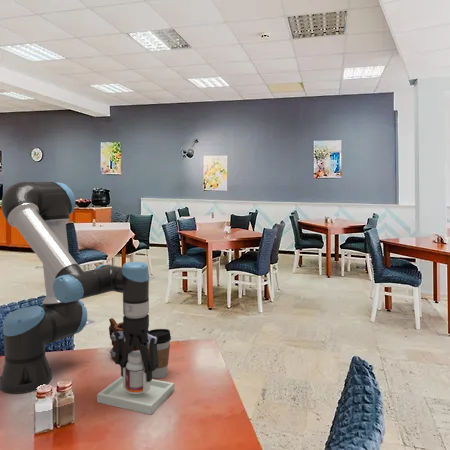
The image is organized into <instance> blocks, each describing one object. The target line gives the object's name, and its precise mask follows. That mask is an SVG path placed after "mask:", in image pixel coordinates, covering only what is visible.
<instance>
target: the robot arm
mask: <svg viewBox="0 0 450 450" xmlns="http://www.w3.org/2000/svg"><path fill="white" fill-rule="evenodd" d="M0 203H1V205H0V206H1V212H2V215H3V216H4V218H5V220H6V222H7V223H8V224H9V225H10V226H11V227H13V228H16V229H17V231H18V232H19V233H20V235H21V236H22V237H23V239H24V240H25V242H27V244H28V245H29V247H30V248H31V250H32V251H33V252H34V253H35V255H36V256H37V258H38V259H39V260H40V261H41V263H42V268H43V269H42V270H43V277H44V287H45V298H44V299H43V300H42V301H41V304H42V306H39V305H38V306H37V305H32V306H31V305H30V306H25V307H21V308H18V309H15V310H12V312H10V313H8V314H7V315H6V316H5V318H4V319H3V328H2V329H3V330H2V334H3V343H4V345H3V349H4V364H3V368H2V373H1V375H0V390H1V391H2V392H3V393H5V394H6V393H8V394H24V393H28V392H29V393H30V392H33V391H36V390H37V389H36V388H37V387H38V386H40V385H43V384H48V385H49V383H50V382H51V381H52V379H53V374H52V373H53V371H52V369H51V367H50V364H49V360H48V359H47V356H46V345H48V344H49V345H50V344H51V343H54V342H57V341H60V340H63V339H65V338H70V337H73V336H74V335H76V334H80V332H82V331H83V329H84V328H85V327H86V324H87V321H88V311H87V307H86V306H85V304H84V302H83V301H82V300H84V299H87V298H91V297H93V296H97V295H101V294H105V293H110V292H115V293H121V294H122V314H123V317H122V322H123V328H124V330H123V331H122V330H120V331H118V332H116V333H115V338H116V352H115V360H114V364H115V365H119V367H120V377H121V376H122V377H123V389H126V364H127V362H128V354H129V353H130V352H131V351H132V348H133V346H134V345H135V346H137V347H138V350H140V353H141V357H142V360H143V364H144V367H145V371H144V372H143V393H147V392H148V391H149V390H150V381H151V380H152V379H153V378H152V371H154V370H155V369H157V368H158V353H157V341H158V336H155V337H154V336H152V335H150V333H149V331H150V330H149V327H150V315H149V313H150V302H149V301H150V299H149V297H150V295H149V292H150V291H149V290H150V286H149V285H150V273H149V265H148V264H147V263H146V262H143V261H130V262H125V263H124V264H123V265H122V266H116V265H113V264H100V265H97V266H96V267H95V268H93V269H88V270H83V268H81V266H80V265H79V264H78V262H76V260H75V259H74V257H73V256H72V255H71V253H70V252H69V243H68V236H67V235H68V234H67V223H69V221H70V220H71V219H70V215H72V214H73V212H74V211H75V208H76V198H75V194H74V192H73V191H72V189H71V188H70V187H69V186H68V185H67V184H66V183H63V182H55V181H19V182H16V183H14V184H12V185H11V186H9V187H8V188H7V189H6V190H5V192H4V193H3V194H2V198H1V202H0ZM124 337H125V338H126V344H125V350H124V353H123V349H124ZM147 339H148V340H149V342H148V343H150V344H149V351H148V347H147V346H148V344H147ZM149 352H150V354H149Z"/></svg>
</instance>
